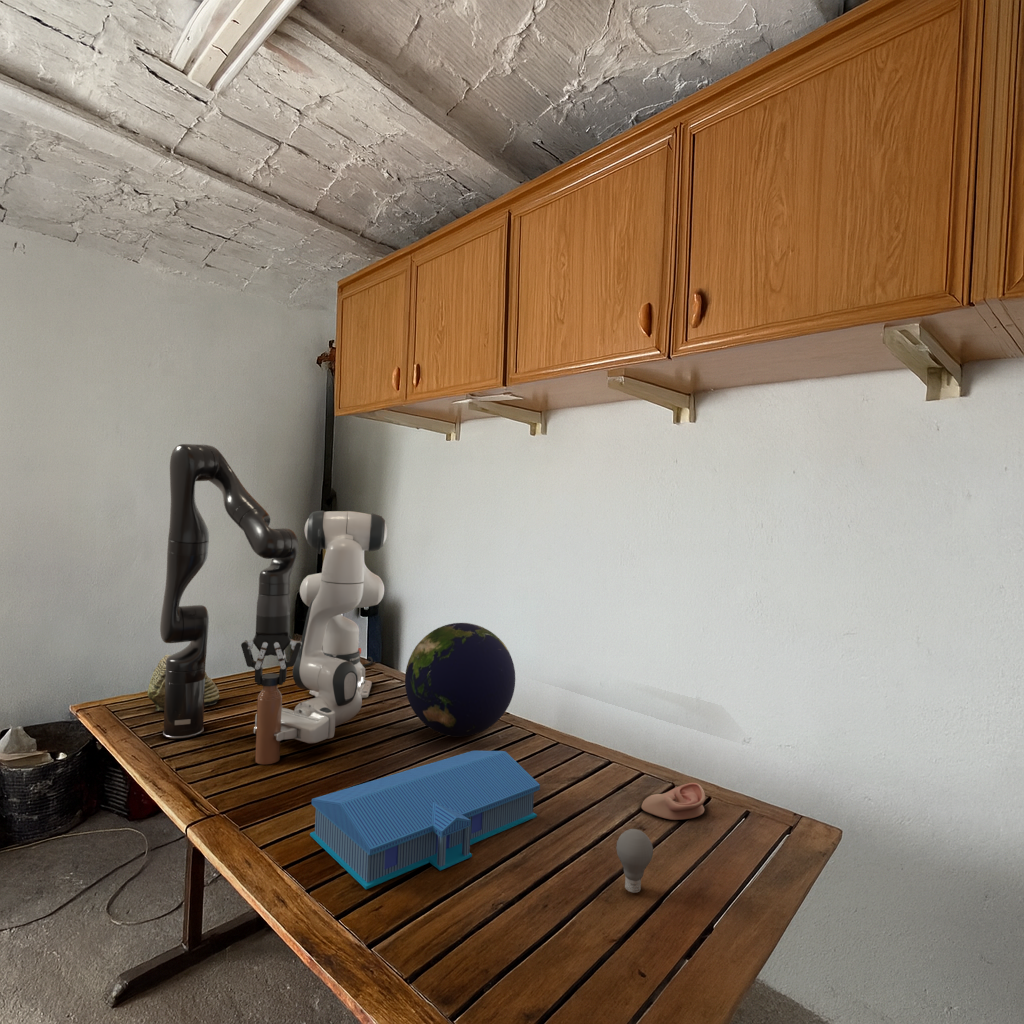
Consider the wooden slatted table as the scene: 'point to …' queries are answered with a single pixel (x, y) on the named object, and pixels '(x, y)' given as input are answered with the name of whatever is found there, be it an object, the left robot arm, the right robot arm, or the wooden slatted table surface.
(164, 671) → the fossil
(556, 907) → the wooden slatted table surface
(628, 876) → the light bulb
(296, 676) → the right robot arm
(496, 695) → the globe
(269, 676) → the cap
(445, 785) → the model building
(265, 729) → the bottle
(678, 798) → the anatomical model
